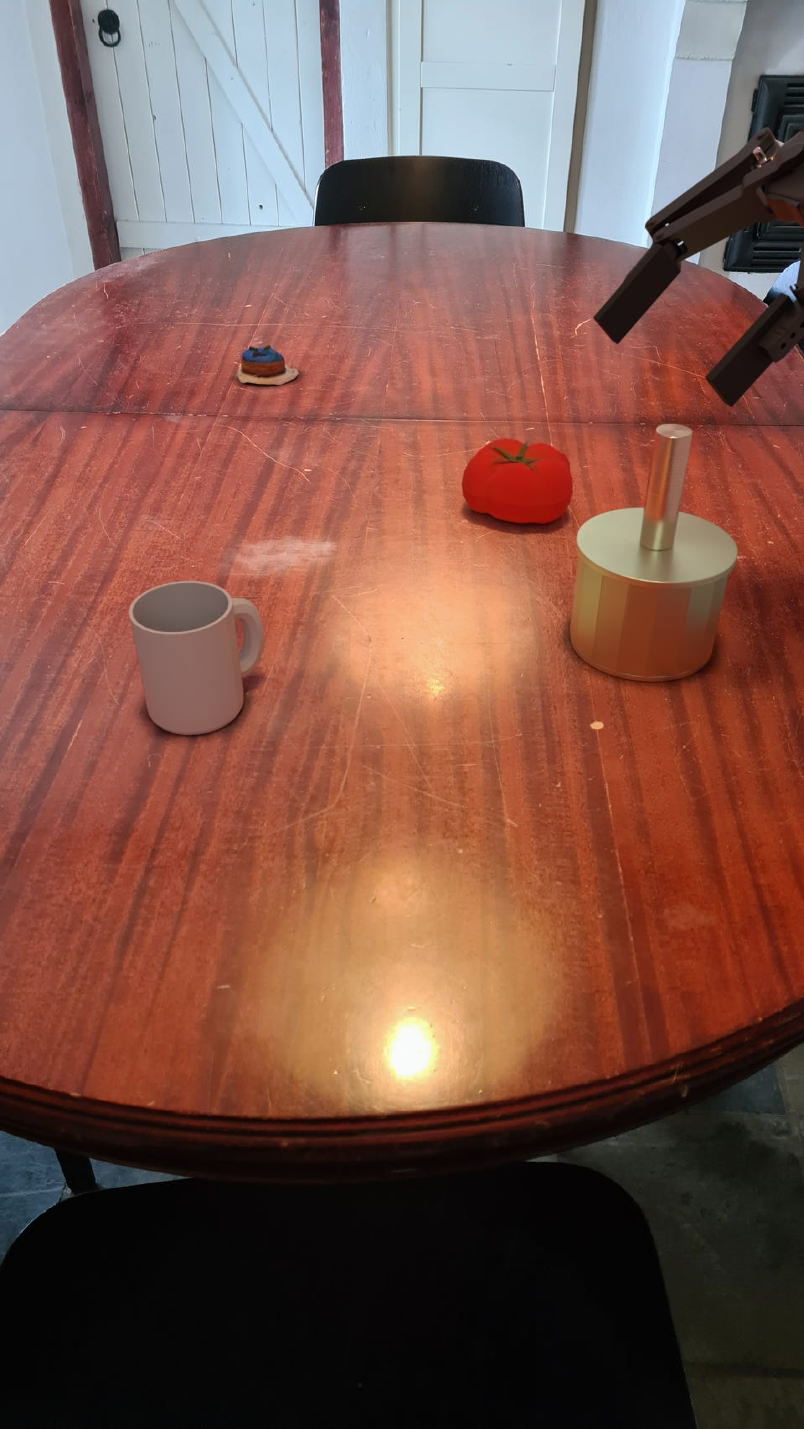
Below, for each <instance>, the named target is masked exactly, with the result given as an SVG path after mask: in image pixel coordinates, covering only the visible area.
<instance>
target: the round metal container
mask: <svg viewBox="0 0 804 1429" xmlns="http://www.w3.org/2000/svg"><path fill="white" fill-rule="evenodd" d="M728 578H729V574H728V575H726V576H725V577H724V578H722V579H720V580H718V581H716V582H713V583H711V584H708V585H704V586H700V587H695V588H688V589H653V588H645V587H639V586H634V585H630V584H626V583H622V582H619V581H616V580H614V579H611V578H609V577H606V576H604V575H602V574H600V573H598V572H597V571H595V570H594V569H592V568H591V567H589V566H588V565H587V564H586V563H585V562H584V561H583V560H582V559H581V558H580V556H579V554H578V553H577V562H576V571H575V581H574V589H573V597H572V598H573V599H572V607H571V615H570V616H571V617H570V625H569V634H570V642H571V646H572V648H573V650H574V651H575V653H576V655H578V656H579V657H580V658H581V660H583V661H584V662H585V663H587V664H588V665H590V666H591V667H593V668H595V669H597V670H598V671H600V672H602V673H605V674H607V675H610V676H613V677H617V678H620V679H625V680H628V681H636V682H645V683H648V682H649V683H651V682H652V683H657V682H660V683H661V682H670V681H675V680H679V679H684V678H687V677H690V676H691V675H693V674H695V673H697V672H699V671H700V670H701V669H703V668H704V666H706V664H707V663H708V662H709V660H710V658H711V656H712V653H713V649H714V643H715V640H716V634H717V629H718V625H719V621H720V616H721V612H722V611H721V610H722V606H723V601H724V596H725V594H726V593H725V592H726V587H727V583H728Z"/></svg>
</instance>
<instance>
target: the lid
mask: <svg viewBox="0 0 804 1429" xmlns="http://www.w3.org/2000/svg"><path fill="white" fill-rule="evenodd" d="M693 434H694V432H693V430H692V428H690V427H689V426H686V425H683V424H677V423H664V424H660V425H658V426H657V427H656V428H655V432H654V438H653V445H652V452H651V457H650V458H651V459H650V465H649V473H648V478H647V486H646V492H645V500H644V506H643V507H627V508H620V509H613V510H608V511H606V512H602V513H599V514H597V515H595V516H593V517H591V518H589V519H588V520H586V521H585V522H584V523H583V524H582V525H580V527H579V529H578V531H577V533H576V536H575V549H576V552H577V555H578V554H579V556H580V558H581V559H582V560H583V561H584V562H585V563H586V564H587V565H588V566H589V567H591V568H592V569H594V570H595V571H597V572H598V573H600V574H602V575H604V576H606V577H609V578H611V579H614V580H616V581H619V582H622V583H626V584H630V585H634V586H639V587H645V588H653V589H688V588H695V587H700V586H704V585H708V584H711V583H713V582H716V581H718V580H720V579H722V578H724V577H725V576H726V575H728V576H729V574H730V573H731V572H732V571H733V570H734V568H735V566H736V564H737V561H738V556H739V550H738V547H737V543H736V542H735V540H734V538H733V537H732V536H731V534H729V533H728V532H727V531H726V530H724V529H723V528H721V527H720V526H719V525H717V524H715V523H713V522H711V521H709V520H707V519H704V518H702V517H699V516H697V515H693V514H690V513H687V512H682V511H680V509H681V503H682V497H683V492H684V486H685V481H686V474H687V469H688V462H689V457H690V453H691V452H690V451H691V446H692V440H693Z"/></svg>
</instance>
